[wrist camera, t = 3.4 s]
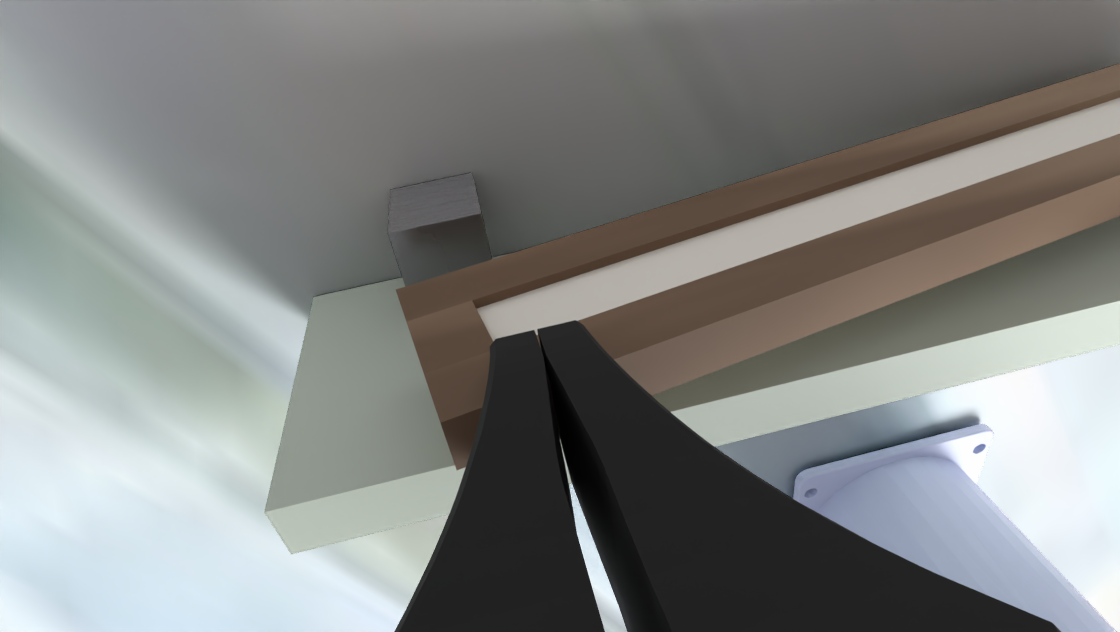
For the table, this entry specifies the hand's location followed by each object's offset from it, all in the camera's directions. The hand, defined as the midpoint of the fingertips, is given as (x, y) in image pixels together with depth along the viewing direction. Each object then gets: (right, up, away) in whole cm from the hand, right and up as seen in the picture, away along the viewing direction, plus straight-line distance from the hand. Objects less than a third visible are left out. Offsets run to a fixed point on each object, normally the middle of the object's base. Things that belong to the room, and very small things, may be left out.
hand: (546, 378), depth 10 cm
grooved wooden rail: (+6, +4, +4) cm, 9 cm away
